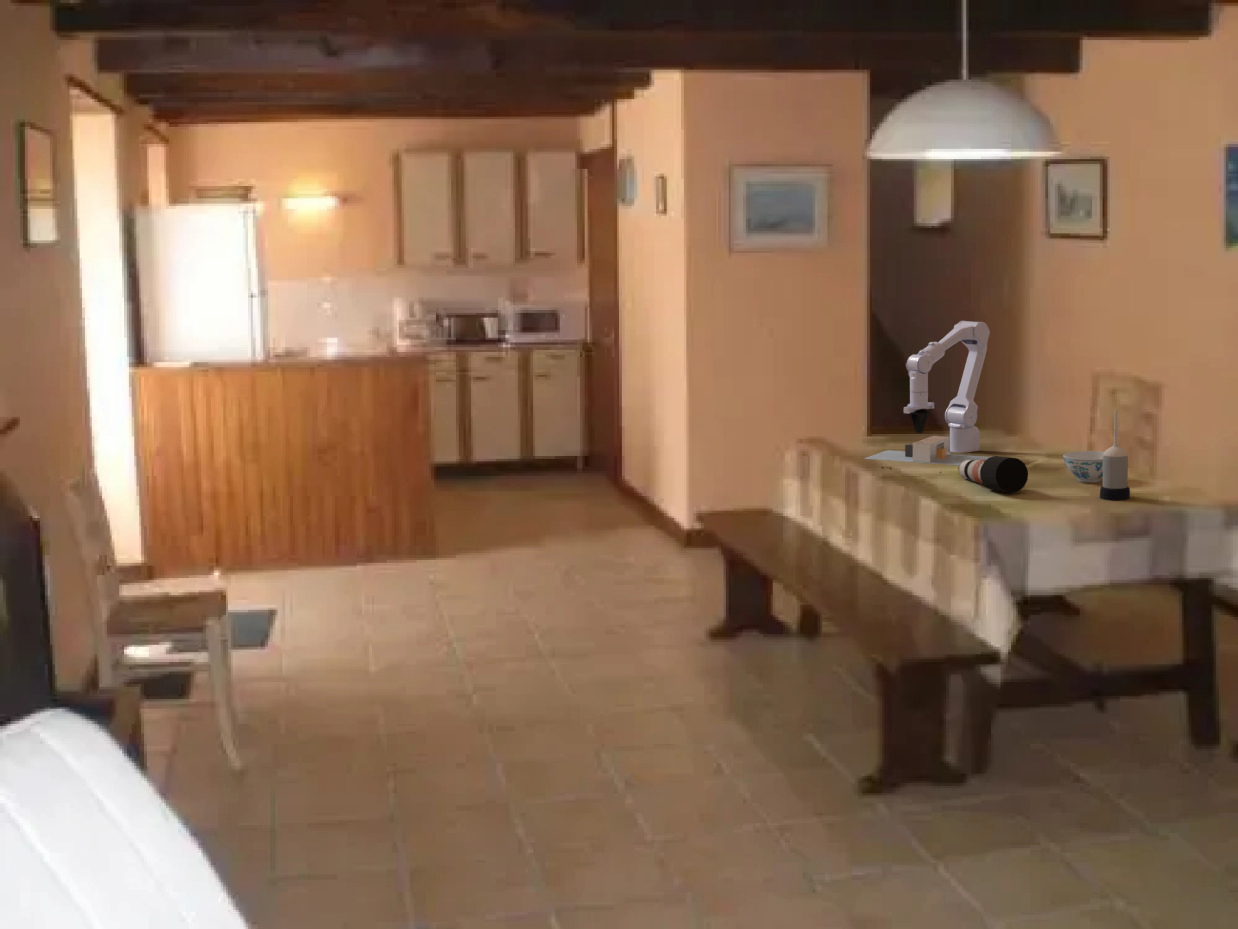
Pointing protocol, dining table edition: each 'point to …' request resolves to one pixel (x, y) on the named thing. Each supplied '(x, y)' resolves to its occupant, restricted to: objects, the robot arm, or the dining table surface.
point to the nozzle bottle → (1115, 471)
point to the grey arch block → (930, 448)
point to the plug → (909, 452)
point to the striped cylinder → (996, 473)
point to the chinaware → (1085, 465)
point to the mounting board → (948, 460)
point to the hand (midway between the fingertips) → (919, 432)
